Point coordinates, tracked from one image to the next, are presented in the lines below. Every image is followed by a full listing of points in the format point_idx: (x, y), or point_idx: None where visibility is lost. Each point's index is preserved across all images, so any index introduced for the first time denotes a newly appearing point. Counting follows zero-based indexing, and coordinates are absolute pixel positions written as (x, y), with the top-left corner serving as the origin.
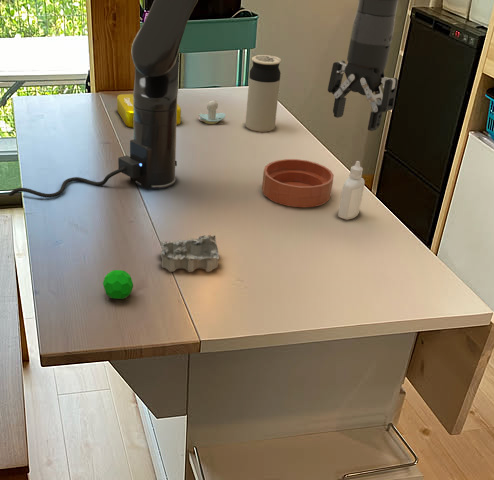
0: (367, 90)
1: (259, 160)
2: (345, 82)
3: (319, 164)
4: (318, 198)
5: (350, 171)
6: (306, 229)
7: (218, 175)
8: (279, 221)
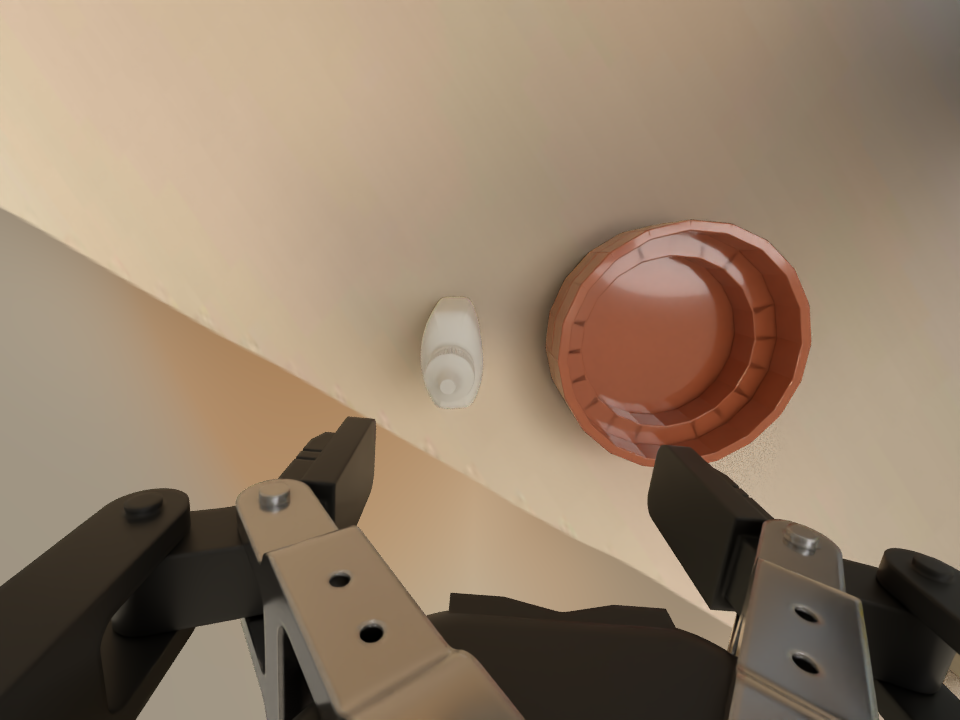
0: (353, 624)
1: (866, 448)
2: (842, 667)
3: None
4: (556, 309)
5: (468, 358)
6: (489, 150)
7: (919, 256)
8: (582, 128)
